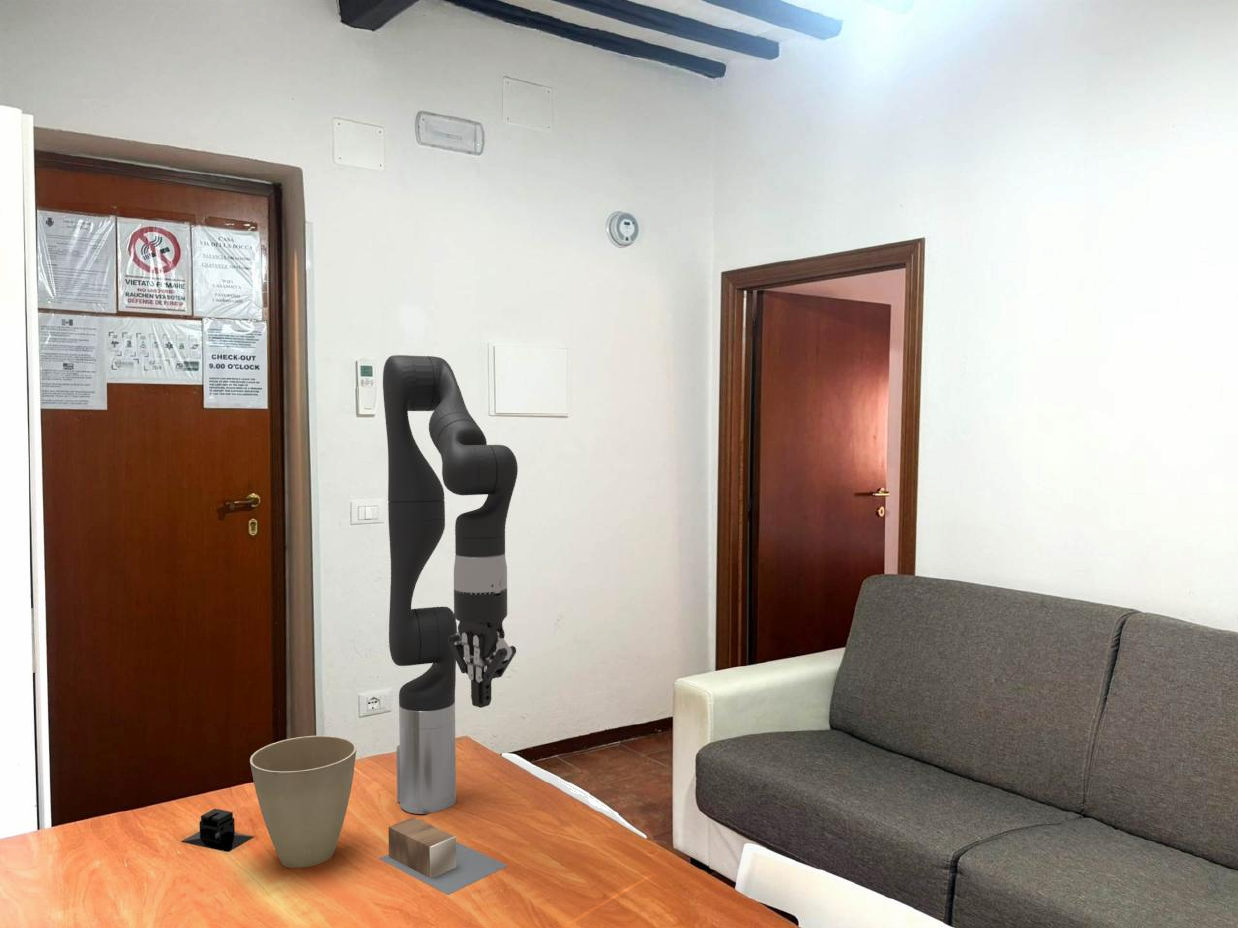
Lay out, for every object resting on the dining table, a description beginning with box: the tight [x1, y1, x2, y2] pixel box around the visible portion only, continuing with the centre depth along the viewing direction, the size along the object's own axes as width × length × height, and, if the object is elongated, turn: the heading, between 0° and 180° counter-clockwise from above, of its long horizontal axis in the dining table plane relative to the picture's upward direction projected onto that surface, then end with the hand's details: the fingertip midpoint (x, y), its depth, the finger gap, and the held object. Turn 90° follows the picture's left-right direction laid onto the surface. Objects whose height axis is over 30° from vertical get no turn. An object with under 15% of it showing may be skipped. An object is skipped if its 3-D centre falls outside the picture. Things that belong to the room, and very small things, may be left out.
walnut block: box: [388, 817, 457, 879], centre depth 139 cm, size 4×4×10 cm
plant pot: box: [249, 735, 357, 869], centre depth 141 cm, size 15×15×16 cm
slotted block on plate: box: [180, 808, 255, 853], centre depth 147 cm, size 12×7×5 cm, turn 69°
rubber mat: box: [378, 841, 509, 896], centre depth 139 cm, size 16×11×1 cm
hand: (481, 705), depth 136 cm, fingers closed
